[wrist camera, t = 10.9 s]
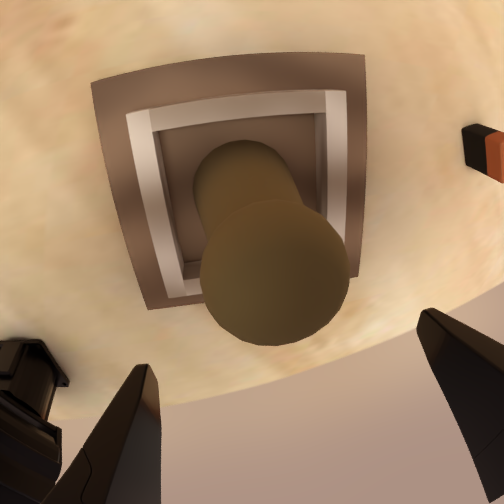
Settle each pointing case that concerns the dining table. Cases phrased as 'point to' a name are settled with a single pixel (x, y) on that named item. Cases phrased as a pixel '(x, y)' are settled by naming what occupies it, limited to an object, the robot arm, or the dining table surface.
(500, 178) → the battery
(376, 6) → the dining table surface
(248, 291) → the cork
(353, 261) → the socket board
